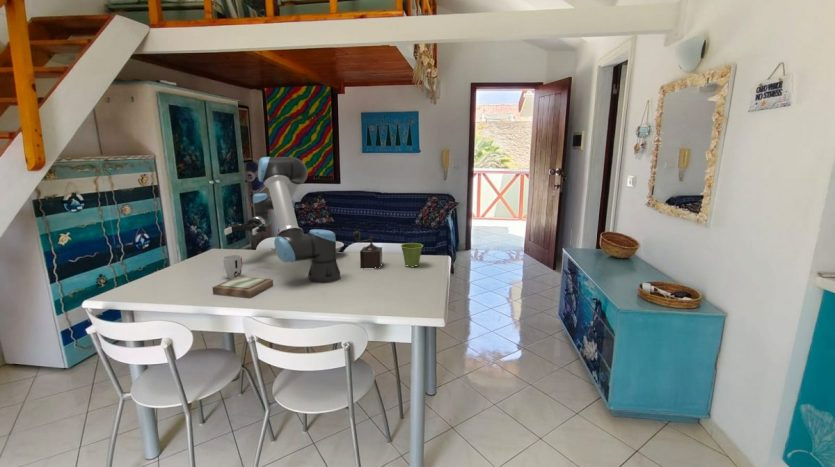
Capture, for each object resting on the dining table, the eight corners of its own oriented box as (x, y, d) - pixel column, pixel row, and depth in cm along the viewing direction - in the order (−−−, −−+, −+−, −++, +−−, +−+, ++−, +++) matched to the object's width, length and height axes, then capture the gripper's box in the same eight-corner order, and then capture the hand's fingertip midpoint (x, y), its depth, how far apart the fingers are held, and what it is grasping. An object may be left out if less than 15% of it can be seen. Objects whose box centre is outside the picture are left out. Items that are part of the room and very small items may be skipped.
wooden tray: (273, 285, 177) (272, 278, 176) (250, 298, 162) (249, 290, 161) (238, 282, 181) (237, 275, 180) (213, 294, 166) (212, 286, 165)
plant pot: (398, 263, 214) (398, 243, 212) (419, 262, 217) (419, 242, 215) (403, 269, 203) (403, 248, 200) (425, 268, 206) (425, 247, 203)
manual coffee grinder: (383, 263, 214) (382, 230, 211) (379, 269, 203) (379, 235, 200) (354, 262, 215) (354, 230, 212) (350, 268, 204) (349, 234, 201)
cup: (236, 280, 184) (234, 259, 182) (221, 279, 185) (219, 258, 183) (247, 275, 192) (245, 255, 190) (232, 274, 193) (230, 254, 191)
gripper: (279, 231, 216) (265, 239, 195) (232, 231, 215) (214, 239, 194) (278, 217, 214) (264, 224, 194) (231, 217, 214) (212, 224, 193)
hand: (239, 232), depth 194 cm, fingers open, 13 cm apart
